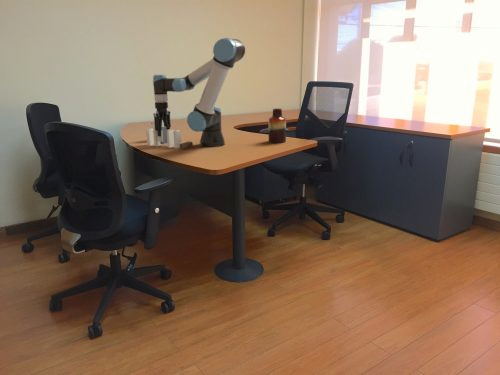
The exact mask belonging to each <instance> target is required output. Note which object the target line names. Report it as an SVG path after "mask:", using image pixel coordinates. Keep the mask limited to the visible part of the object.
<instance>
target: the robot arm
mask: <svg viewBox="0 0 500 375" xmlns="http://www.w3.org/2000/svg"><path fill="white" fill-rule="evenodd" d="M212 52H213V53H212V54H213V58H211V59H210V60H208V61H207V62H205V63H204V64H202V65H201V66H199V67H198V68H196V69H194V70H193V71H192V72H190V73H188V74H187V75H186V76H184V77H170V78H169V77H168V78H167V75H166V74H154V75H153V77H152V79H153V80H152V84H153V94H154V101H155V102H154V108H155V110H156V111H155V112H154V113H153V118H154V120H153V121H154V122H153V123H155V130H156V131H158V137H159V141H160V142H163V131H161V129H162V122H163V123H164V126H165V127H167V130H171V127H172V126H171V111H170V110H169V111H168V108H169V105H168V103H169V102H168V92H170V93H171V92H172V93H183V92H184V91H185V92H186V91H191V90H193V89H195V87H196V86H197V85H198V84H200V83H202V82H204V81H205V80H207V81H206V84H205V86H204V89H203V91H202V94H201V97H200V99H199V101H198V103H196V104H195V105H194V107H193V110H192V111H191V112H189V113H188V115H187V116H186V117H187V118H186V123H187V125H188V127H189V129H191V131H193V132H196V133H197V132H202V133H201V136H200V140H199V144H200V146H202V147H210V148H211V147H212V148H213V147H215V148H216V147H221V146H225V145H226V140H225V137H224V136H223V132H222V111H221V108H220V107H219V106H215V105H216V103H217V101H218V98H219V94H220V93H221V91H222V89H223V88H222V87H223V86H224V83H225V80H226V77H227V75H228V73H229V71H230V70H231V69H233V68H234V65H235V63H237V62H239V61H241V60H242V59H243V57H244V56H245V55H246V47H245V44H244V43H243V41H241V40H239V39H238V38H237V39H236V38H230V37H224V38H220V39H218V40H217V41H216V42H214V45H213V48H212ZM159 128H160V129H159Z"/></svg>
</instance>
